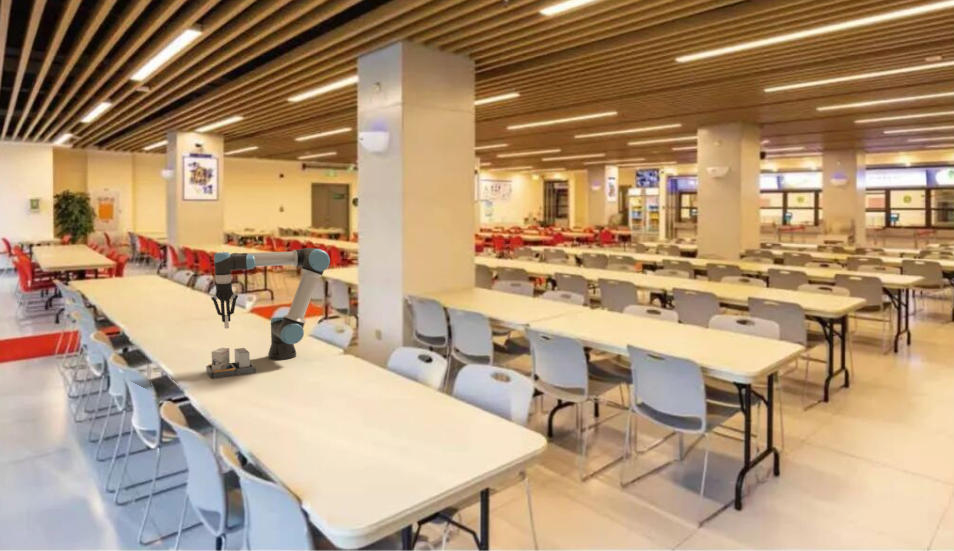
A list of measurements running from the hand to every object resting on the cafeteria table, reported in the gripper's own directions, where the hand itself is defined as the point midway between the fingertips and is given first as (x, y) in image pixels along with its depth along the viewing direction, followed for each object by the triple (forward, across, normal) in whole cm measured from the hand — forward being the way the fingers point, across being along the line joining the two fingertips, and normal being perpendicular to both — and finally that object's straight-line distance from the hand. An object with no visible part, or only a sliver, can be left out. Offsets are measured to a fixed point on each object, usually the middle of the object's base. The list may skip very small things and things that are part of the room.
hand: (226, 327), depth 309 cm
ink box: (+22, +5, +5) cm, 23 cm away
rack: (+22, 0, +6) cm, 23 cm away
